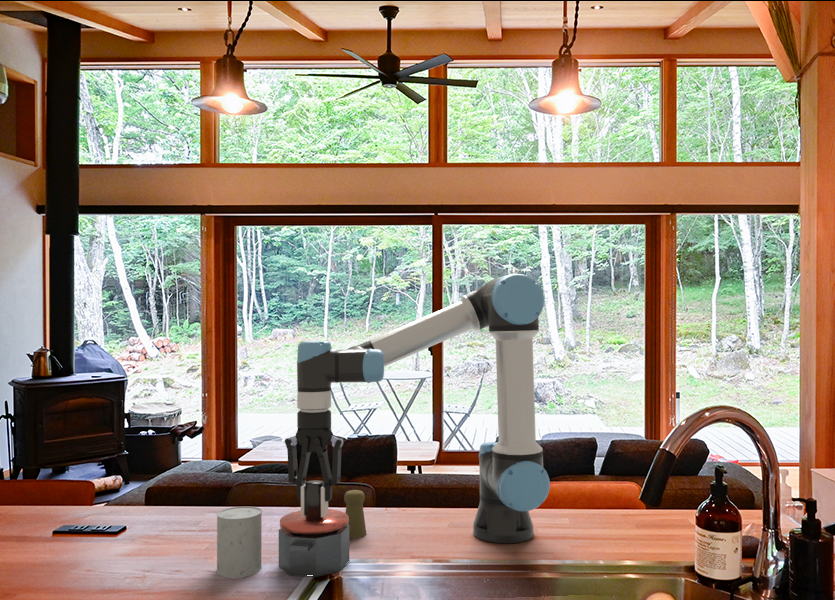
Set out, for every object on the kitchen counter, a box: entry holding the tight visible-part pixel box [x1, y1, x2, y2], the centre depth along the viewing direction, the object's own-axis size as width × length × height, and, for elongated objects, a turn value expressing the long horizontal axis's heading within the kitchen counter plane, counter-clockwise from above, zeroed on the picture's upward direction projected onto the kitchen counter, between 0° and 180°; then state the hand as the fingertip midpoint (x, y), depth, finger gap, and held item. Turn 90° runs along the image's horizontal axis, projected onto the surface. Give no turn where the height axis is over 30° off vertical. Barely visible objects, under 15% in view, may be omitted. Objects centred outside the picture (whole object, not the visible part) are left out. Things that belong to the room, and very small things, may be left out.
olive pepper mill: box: [343, 489, 367, 540], centre depth 166 cm, size 6×6×11 cm
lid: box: [279, 479, 349, 537], centre depth 146 cm, size 15×15×11 cm
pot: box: [278, 525, 350, 578], centre depth 146 cm, size 14×19×8 cm
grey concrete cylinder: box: [216, 505, 263, 579], centre depth 143 cm, size 10×10×12 cm
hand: (314, 514), depth 146 cm, fingers closed on lid, 4 cm apart
